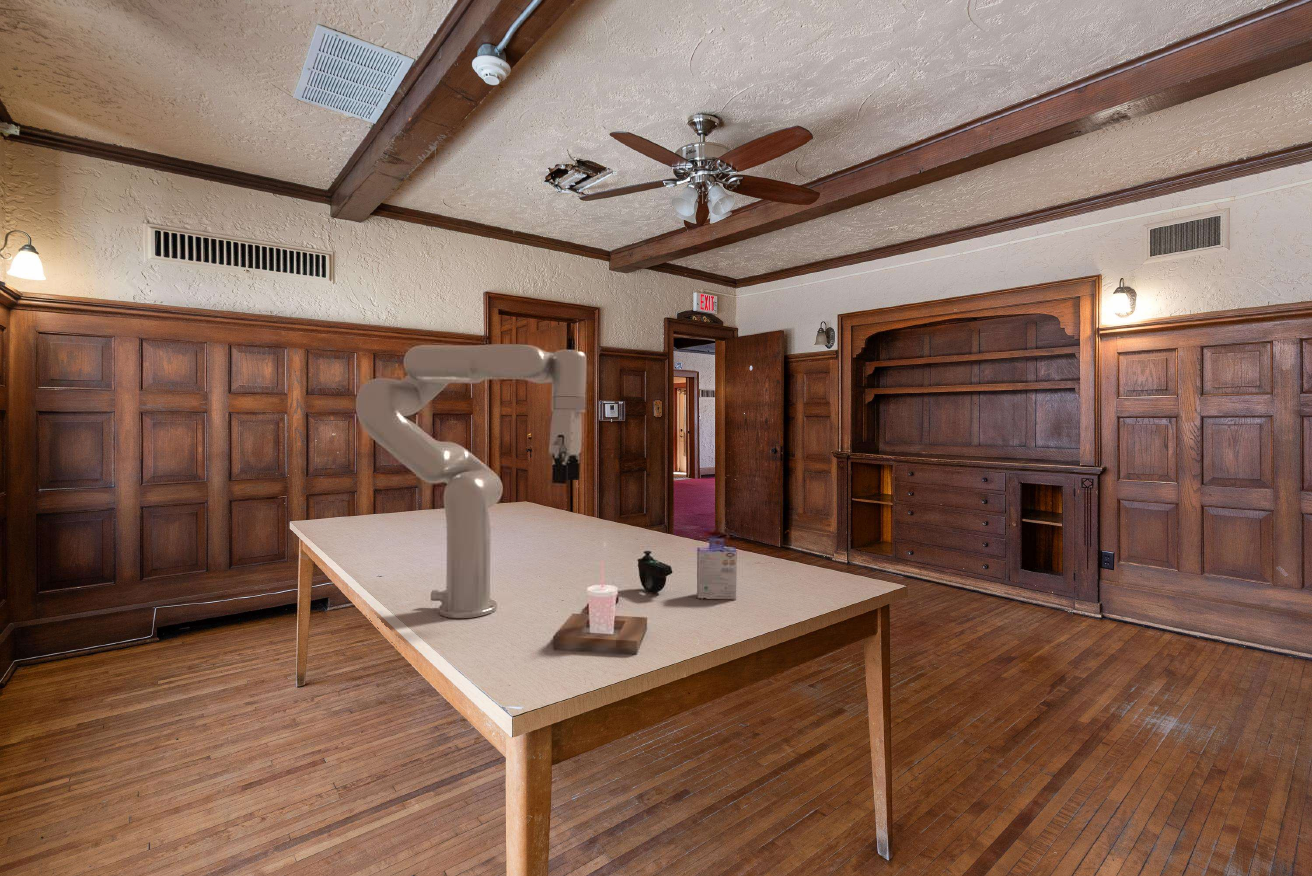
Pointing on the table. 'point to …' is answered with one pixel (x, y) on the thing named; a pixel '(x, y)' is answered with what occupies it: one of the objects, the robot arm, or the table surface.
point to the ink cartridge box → (716, 571)
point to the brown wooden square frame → (601, 635)
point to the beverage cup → (602, 606)
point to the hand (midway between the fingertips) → (566, 481)
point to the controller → (652, 573)
